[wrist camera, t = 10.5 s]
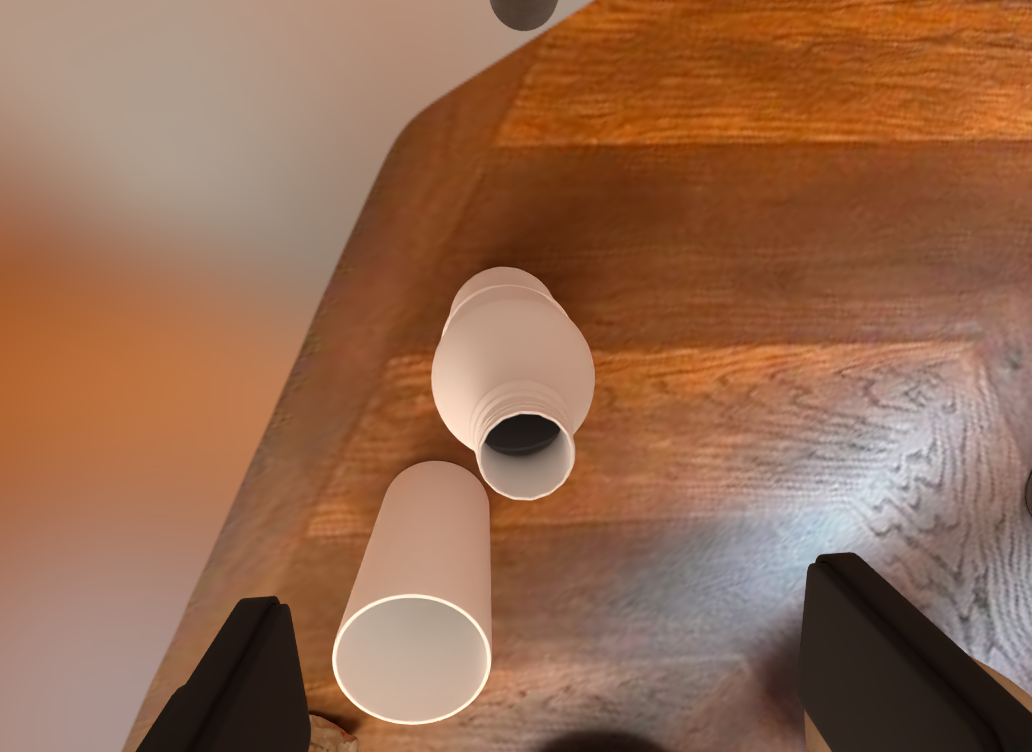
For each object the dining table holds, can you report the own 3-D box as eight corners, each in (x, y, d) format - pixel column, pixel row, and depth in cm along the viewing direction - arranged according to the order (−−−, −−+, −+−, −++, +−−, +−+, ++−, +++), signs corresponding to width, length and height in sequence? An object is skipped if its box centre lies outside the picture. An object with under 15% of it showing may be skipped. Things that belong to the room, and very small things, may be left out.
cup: (411, 570, 47) (376, 746, 32) (364, 485, 45) (302, 630, 29) (505, 531, 46) (516, 692, 31) (462, 444, 44) (451, 569, 29)
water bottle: (484, 380, 43) (484, 597, 19) (432, 295, 41) (358, 417, 17) (570, 331, 42) (682, 493, 18) (521, 243, 40) (575, 294, 16)
